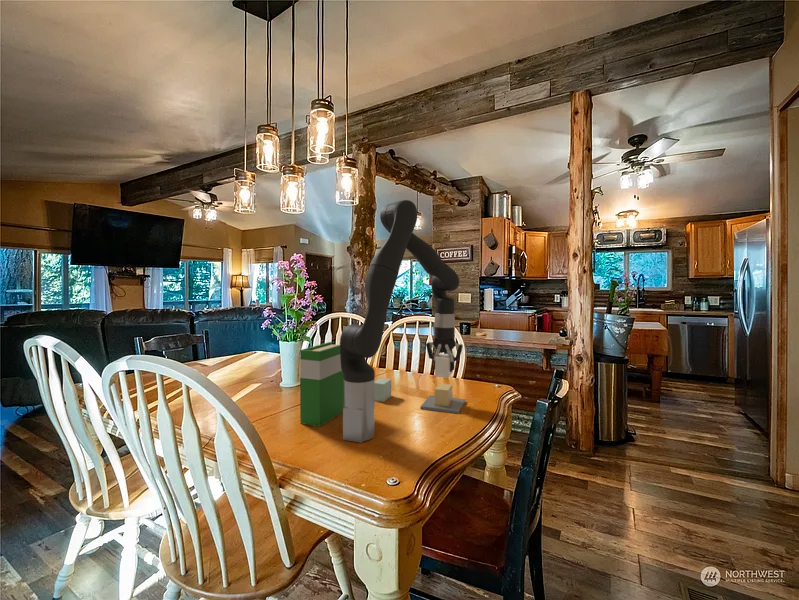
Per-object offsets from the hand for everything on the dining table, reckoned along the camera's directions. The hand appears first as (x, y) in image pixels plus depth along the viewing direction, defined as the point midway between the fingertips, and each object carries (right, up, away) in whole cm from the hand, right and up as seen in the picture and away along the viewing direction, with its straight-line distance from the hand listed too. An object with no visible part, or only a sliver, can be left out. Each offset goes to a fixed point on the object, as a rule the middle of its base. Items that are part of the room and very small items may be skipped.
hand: (444, 370), depth 138 cm
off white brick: (0, -1, 0) cm, 1 cm away
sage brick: (-24, -13, +9) cm, 28 cm away
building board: (0, -13, +1) cm, 13 cm away
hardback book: (-42, -14, -11) cm, 46 cm away
